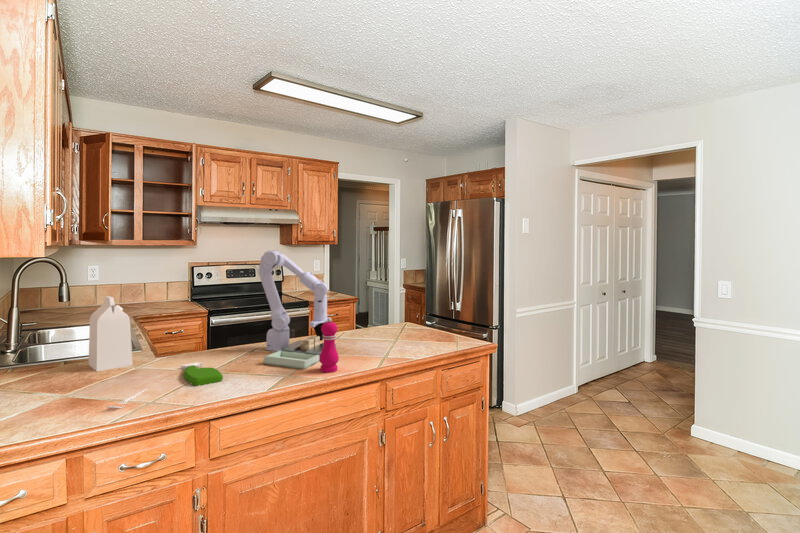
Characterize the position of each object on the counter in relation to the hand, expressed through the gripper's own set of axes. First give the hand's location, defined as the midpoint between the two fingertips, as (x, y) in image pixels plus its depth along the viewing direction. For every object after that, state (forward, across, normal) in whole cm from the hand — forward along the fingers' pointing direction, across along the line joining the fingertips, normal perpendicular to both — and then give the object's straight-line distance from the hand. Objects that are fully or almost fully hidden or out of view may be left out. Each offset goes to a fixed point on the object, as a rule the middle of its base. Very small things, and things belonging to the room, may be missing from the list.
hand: (320, 340), depth 195 cm
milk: (+5, -51, +61) cm, 80 cm away
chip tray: (+4, -22, 0) cm, 23 cm away
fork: (+5, -74, +23) cm, 78 cm away
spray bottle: (+5, -48, +22) cm, 53 cm away
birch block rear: (+1, -6, 0) cm, 6 cm away
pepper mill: (+4, -26, -18) cm, 31 cm away
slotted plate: (+4, -9, 0) cm, 10 cm away
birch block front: (+1, -11, 0) cm, 11 cm away
